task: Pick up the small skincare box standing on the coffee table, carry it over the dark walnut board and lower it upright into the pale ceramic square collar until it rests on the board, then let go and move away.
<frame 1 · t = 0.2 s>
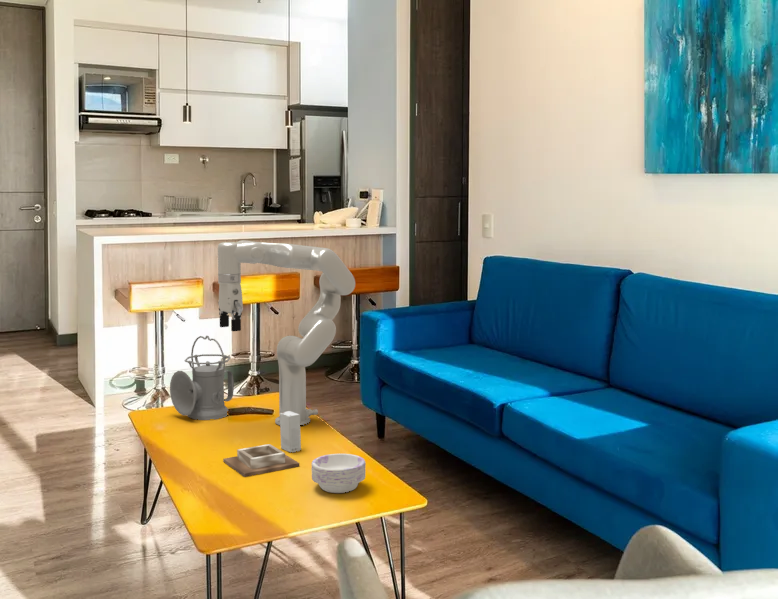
hand: (230, 328, 276), 36 cm above the table, tool pointing down, fingers open, 9 cm apart
paper bowls: (338, 488, 230), on the table
lantern: (208, 415, 304), on the table
socket board: (261, 464, 249), on the table
skincare box: (290, 450, 263), on the table
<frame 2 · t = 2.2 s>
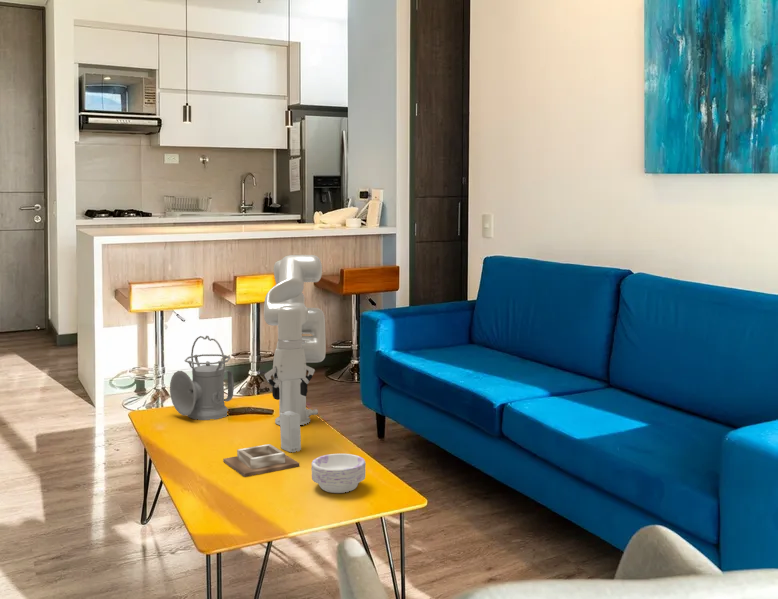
hand: (290, 397, 261), 18 cm above the table, tool pointing down, fingers open, 9 cm apart
nothing on the table moved.
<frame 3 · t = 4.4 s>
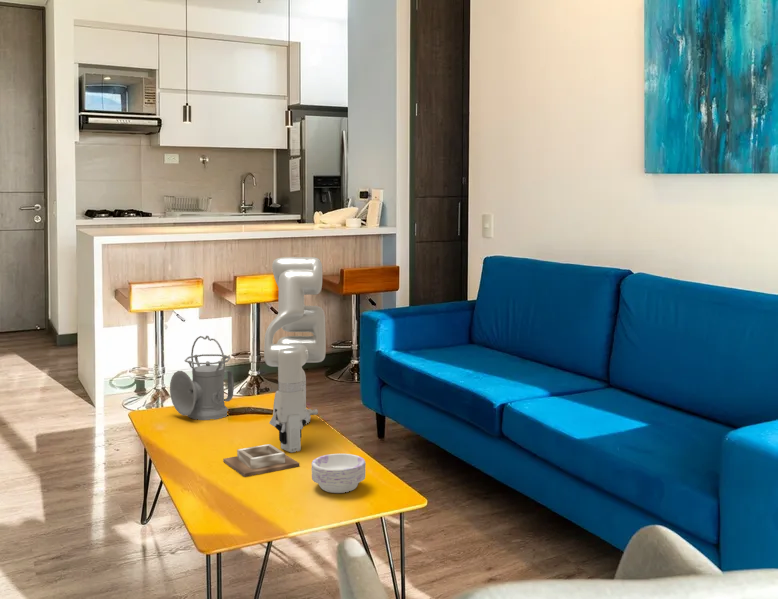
hand: (290, 441, 263), 3 cm above the table, tool pointing down, fingers closed on skincare box, 4 cm apart
skincare box: (290, 450, 263), on the table, touching gripper
everything else where it was.
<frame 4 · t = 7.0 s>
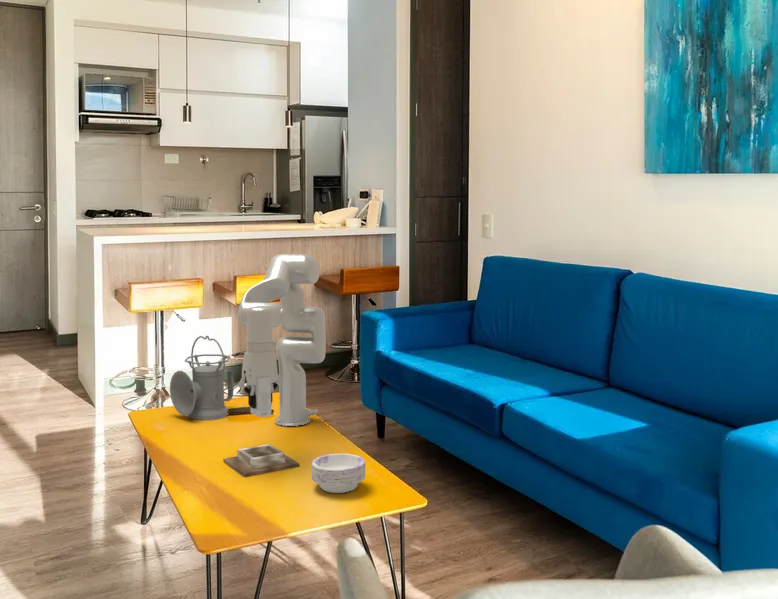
hand: (260, 405, 247), 18 cm above the table, tool pointing down, fingers closed on skincare box, 4 cm apart
skincare box: (260, 415, 247), point 15 cm above the table, touching gripper
everything else where it was.
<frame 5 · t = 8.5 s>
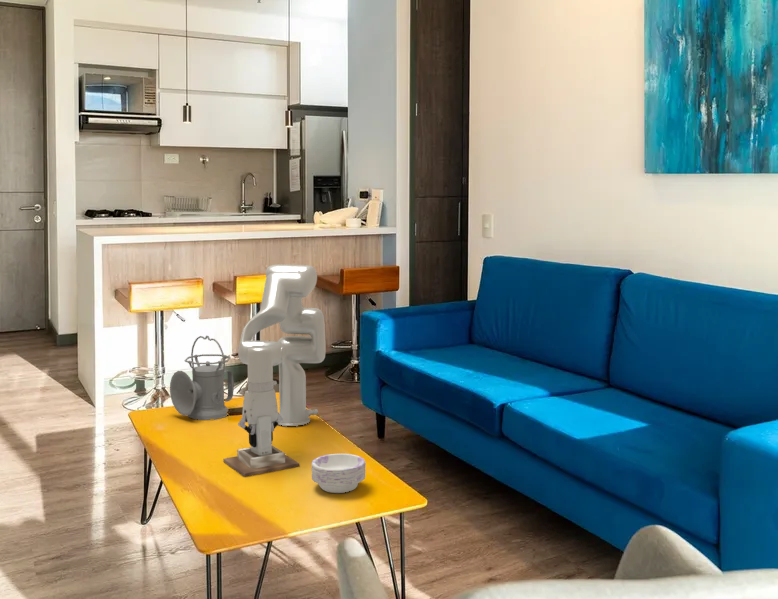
hand: (260, 444, 248), 6 cm above the table, tool pointing down, fingers closed on skincare box, 4 cm apart
skincare box: (260, 453, 248), point 3 cm above the table, touching gripper
everything else where it was.
when the fingers open (5 cm above the table, at t = 9.4 s): skincare box drops 1 cm, resting on socket board.
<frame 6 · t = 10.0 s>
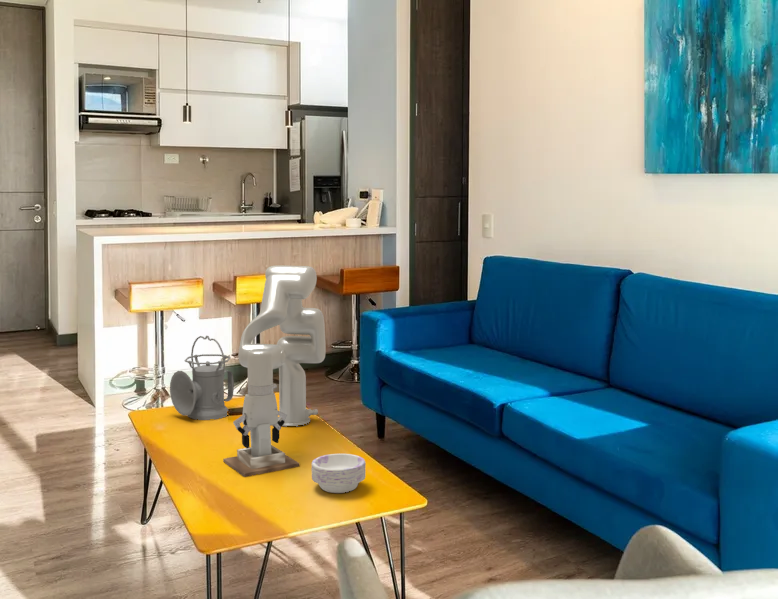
hand: (260, 444, 248), 6 cm above the table, tool pointing down, fingers open, 9 cm apart
skincare box: (261, 461, 249), point 1 cm above the table, touching socket board
everything else where it was.
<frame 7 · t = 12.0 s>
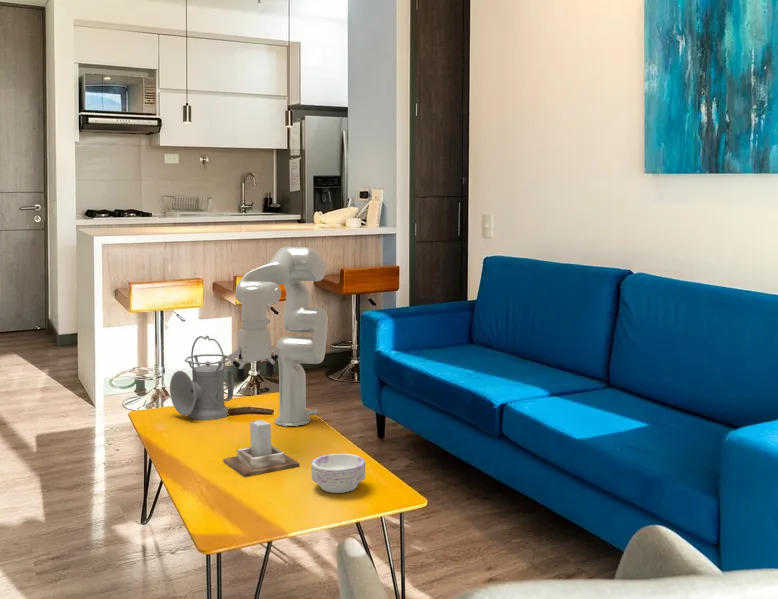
hand: (255, 378, 256), 25 cm above the table, tool pointing down, fingers open, 9 cm apart
nothing on the table moved.
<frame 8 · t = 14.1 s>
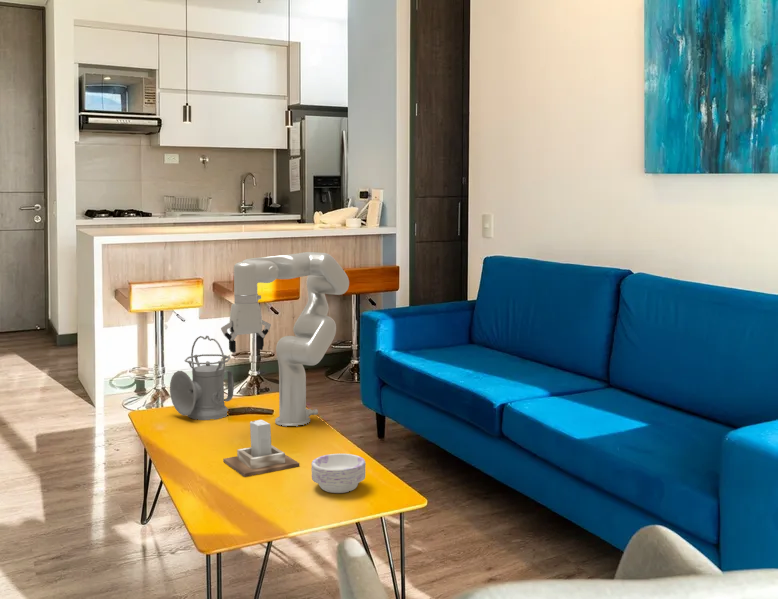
hand: (246, 350, 270), 30 cm above the table, tool pointing down, fingers open, 9 cm apart
nothing on the table moved.
at the end: skincare box 0.1 cm off-centre on the socket board, point 0.8 cm above the socket board's base; skincare box tilted 0°; the gripper is holding nothing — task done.
